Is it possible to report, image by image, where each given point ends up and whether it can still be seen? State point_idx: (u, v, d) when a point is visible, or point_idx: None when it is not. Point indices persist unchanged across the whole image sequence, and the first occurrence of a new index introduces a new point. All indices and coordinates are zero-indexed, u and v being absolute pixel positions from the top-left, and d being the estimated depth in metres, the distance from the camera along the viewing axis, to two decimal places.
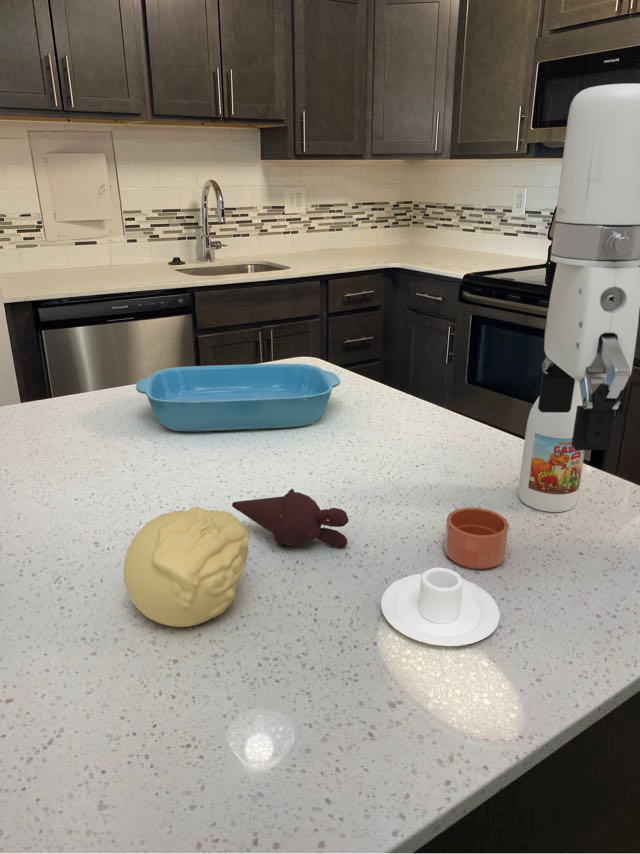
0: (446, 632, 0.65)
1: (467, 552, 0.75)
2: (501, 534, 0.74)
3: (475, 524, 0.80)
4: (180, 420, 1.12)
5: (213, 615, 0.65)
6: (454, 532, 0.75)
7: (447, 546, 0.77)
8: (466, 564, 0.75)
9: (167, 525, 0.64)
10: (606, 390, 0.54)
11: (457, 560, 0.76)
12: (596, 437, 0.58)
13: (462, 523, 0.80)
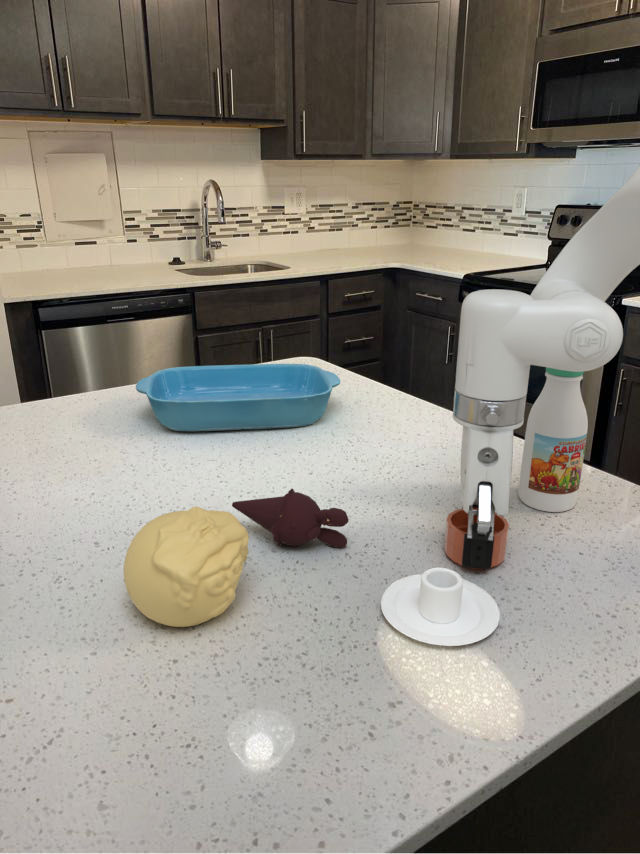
0: (446, 632, 0.65)
1: None
2: (501, 534, 0.74)
3: None
4: (180, 420, 1.12)
5: (213, 615, 0.65)
6: (454, 532, 0.75)
7: (447, 546, 0.77)
8: None
9: (167, 525, 0.64)
10: (476, 528, 0.70)
11: (457, 560, 0.76)
12: (477, 560, 0.73)
13: (462, 523, 0.80)
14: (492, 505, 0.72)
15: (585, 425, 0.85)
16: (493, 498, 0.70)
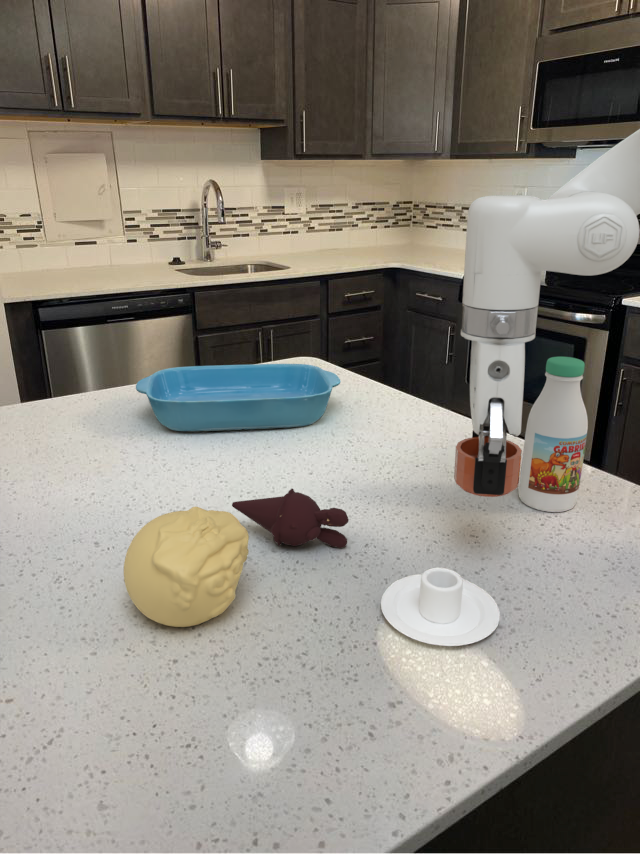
0: (446, 632, 0.65)
1: None
2: (513, 458, 0.71)
3: None
4: (180, 420, 1.12)
5: (213, 615, 0.65)
6: (464, 458, 0.72)
7: (457, 475, 0.74)
8: None
9: (167, 525, 0.64)
10: (488, 448, 0.67)
11: (468, 488, 0.73)
12: (489, 484, 0.70)
13: (472, 453, 0.77)
14: (504, 425, 0.69)
15: (585, 425, 0.85)
16: (505, 415, 0.67)
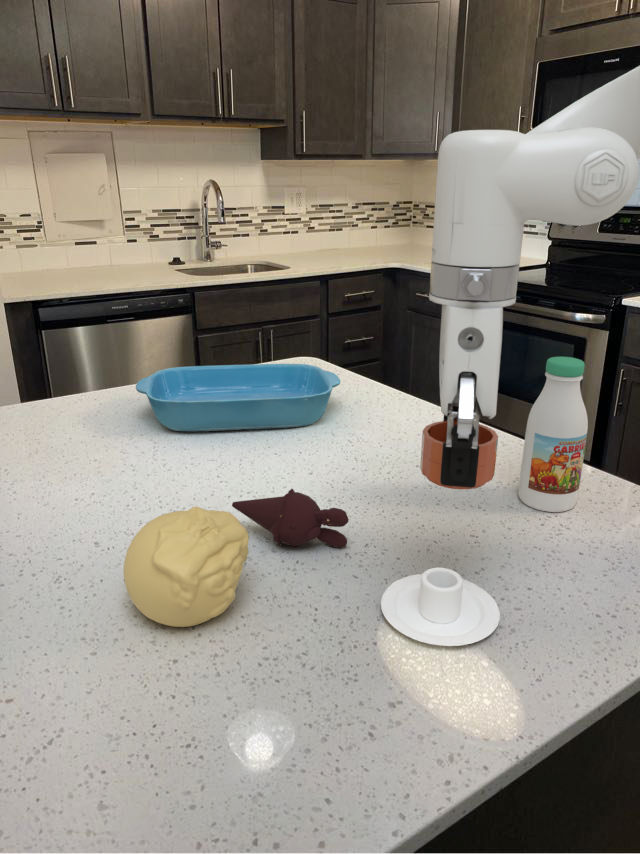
0: (446, 632, 0.65)
1: None
2: (488, 445, 0.61)
3: None
4: (180, 420, 1.12)
5: (213, 615, 0.65)
6: (430, 444, 0.62)
7: (423, 463, 0.64)
8: None
9: (167, 525, 0.64)
10: (456, 431, 0.56)
11: (435, 478, 0.62)
12: (459, 475, 0.60)
13: (442, 439, 0.67)
14: (477, 405, 0.58)
15: (585, 425, 0.85)
16: (477, 393, 0.57)
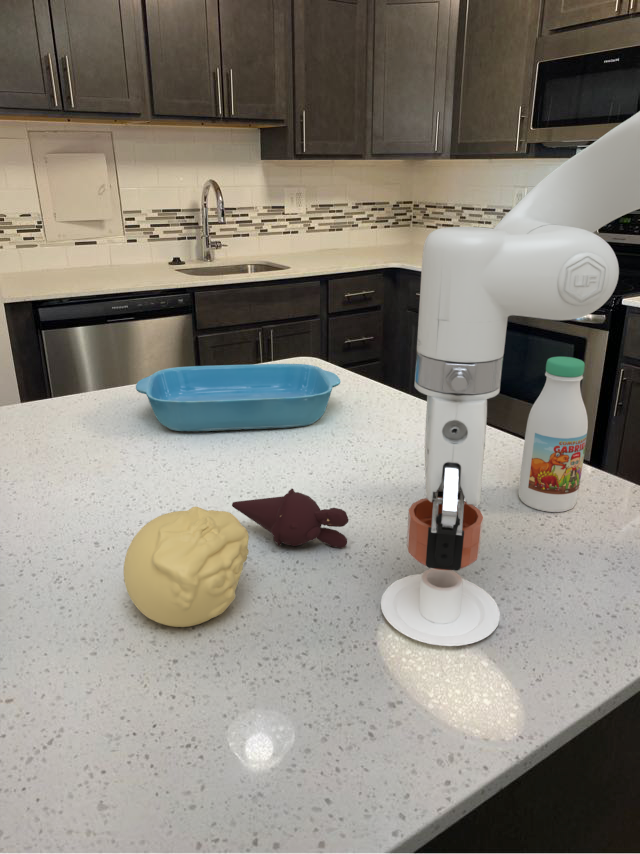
0: (446, 632, 0.65)
1: None
2: (473, 528, 0.61)
3: None
4: (180, 420, 1.12)
5: (213, 615, 0.65)
6: (416, 526, 0.63)
7: (409, 542, 0.64)
8: None
9: (167, 525, 0.64)
10: (441, 520, 0.57)
11: (420, 559, 0.63)
12: (444, 559, 0.60)
13: (429, 515, 0.67)
14: (461, 492, 0.59)
15: (585, 425, 0.85)
16: (462, 483, 0.57)
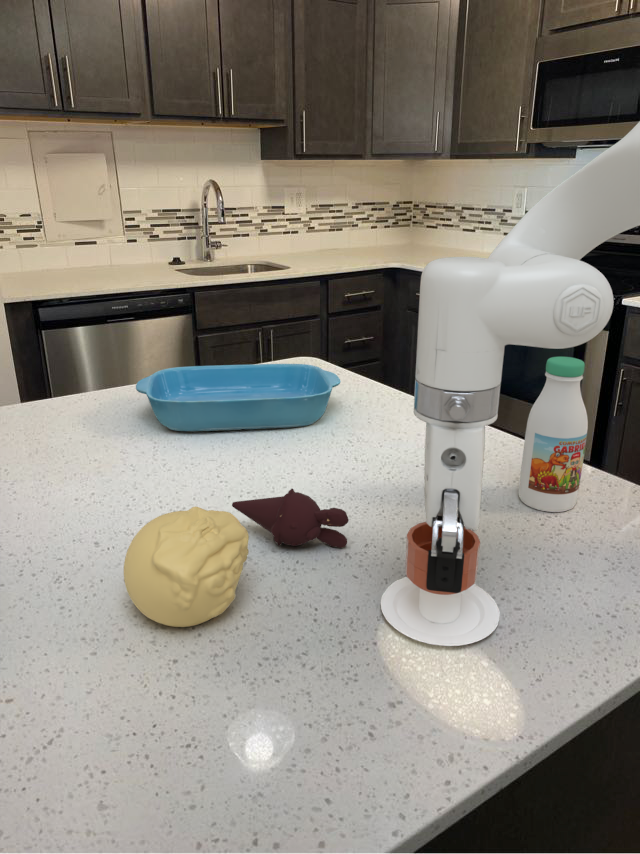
0: (446, 632, 0.65)
1: None
2: (470, 553, 0.62)
3: None
4: (180, 420, 1.12)
5: (213, 615, 0.65)
6: (414, 551, 0.64)
7: (407, 567, 0.65)
8: None
9: (167, 525, 0.64)
10: (441, 545, 0.57)
11: (418, 584, 0.64)
12: (444, 582, 0.60)
13: (427, 539, 0.68)
14: (461, 515, 0.60)
15: (585, 425, 0.85)
16: (461, 502, 0.58)
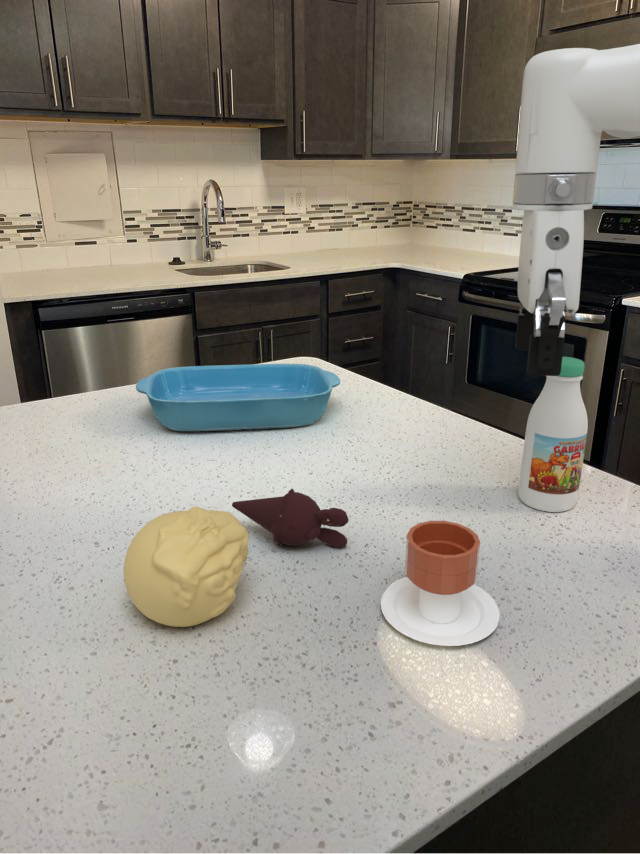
0: (446, 632, 0.65)
1: (430, 575, 0.63)
2: (470, 553, 0.62)
3: (443, 540, 0.69)
4: (180, 420, 1.12)
5: (213, 615, 0.65)
6: (414, 551, 0.64)
7: (407, 567, 0.65)
8: (429, 589, 0.64)
9: (167, 525, 0.64)
10: (548, 318, 0.62)
11: (418, 584, 0.64)
12: (546, 363, 0.65)
13: (427, 539, 0.68)
14: None
15: (585, 425, 0.85)
16: (563, 282, 0.63)
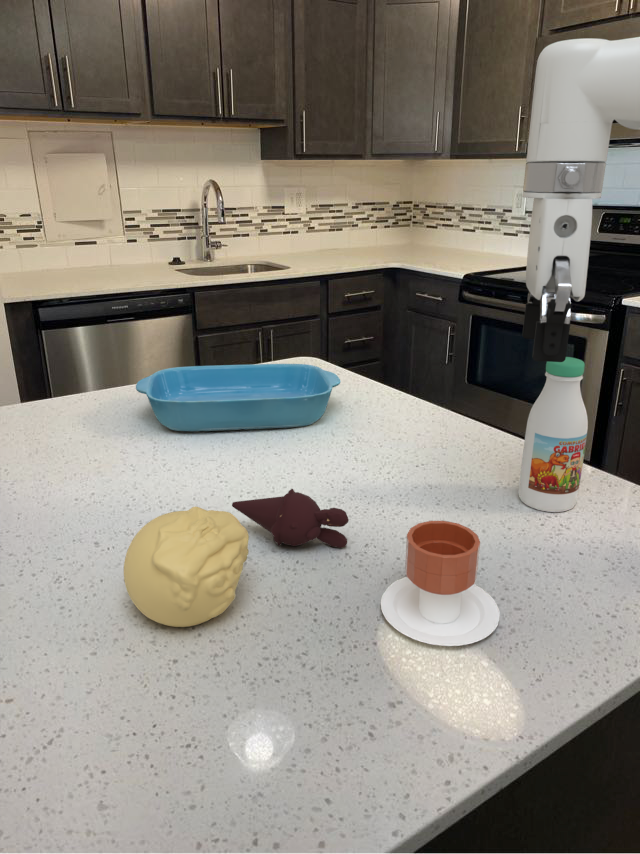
0: (446, 632, 0.65)
1: (430, 575, 0.63)
2: (470, 553, 0.62)
3: (443, 540, 0.69)
4: (180, 420, 1.12)
5: (213, 615, 0.65)
6: (414, 551, 0.64)
7: (407, 567, 0.65)
8: (429, 589, 0.64)
9: (167, 525, 0.64)
10: (554, 303, 0.63)
11: (418, 584, 0.64)
12: (551, 349, 0.67)
13: (427, 539, 0.68)
14: None
15: (585, 425, 0.85)
16: (570, 269, 0.64)
